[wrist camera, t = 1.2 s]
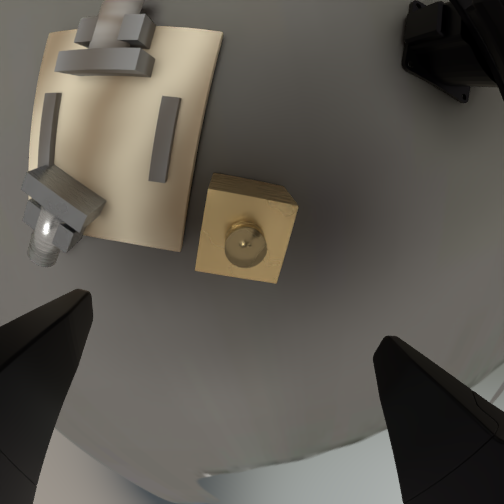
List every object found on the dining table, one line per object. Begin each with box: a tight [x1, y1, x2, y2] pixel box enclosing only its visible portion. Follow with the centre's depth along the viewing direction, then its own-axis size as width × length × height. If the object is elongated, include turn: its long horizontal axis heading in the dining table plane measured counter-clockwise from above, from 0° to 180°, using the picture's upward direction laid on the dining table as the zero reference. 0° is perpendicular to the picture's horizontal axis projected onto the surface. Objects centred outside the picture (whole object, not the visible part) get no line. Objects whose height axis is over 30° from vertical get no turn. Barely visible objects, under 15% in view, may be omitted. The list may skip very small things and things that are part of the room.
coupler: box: [195, 173, 299, 283], centre depth 17 cm, size 4×4×6 cm
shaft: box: [21, 164, 107, 267], centre depth 16 cm, size 6×5×3 cm
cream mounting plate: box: [29, 0, 223, 252], centre depth 14 cm, size 12×16×4 cm
